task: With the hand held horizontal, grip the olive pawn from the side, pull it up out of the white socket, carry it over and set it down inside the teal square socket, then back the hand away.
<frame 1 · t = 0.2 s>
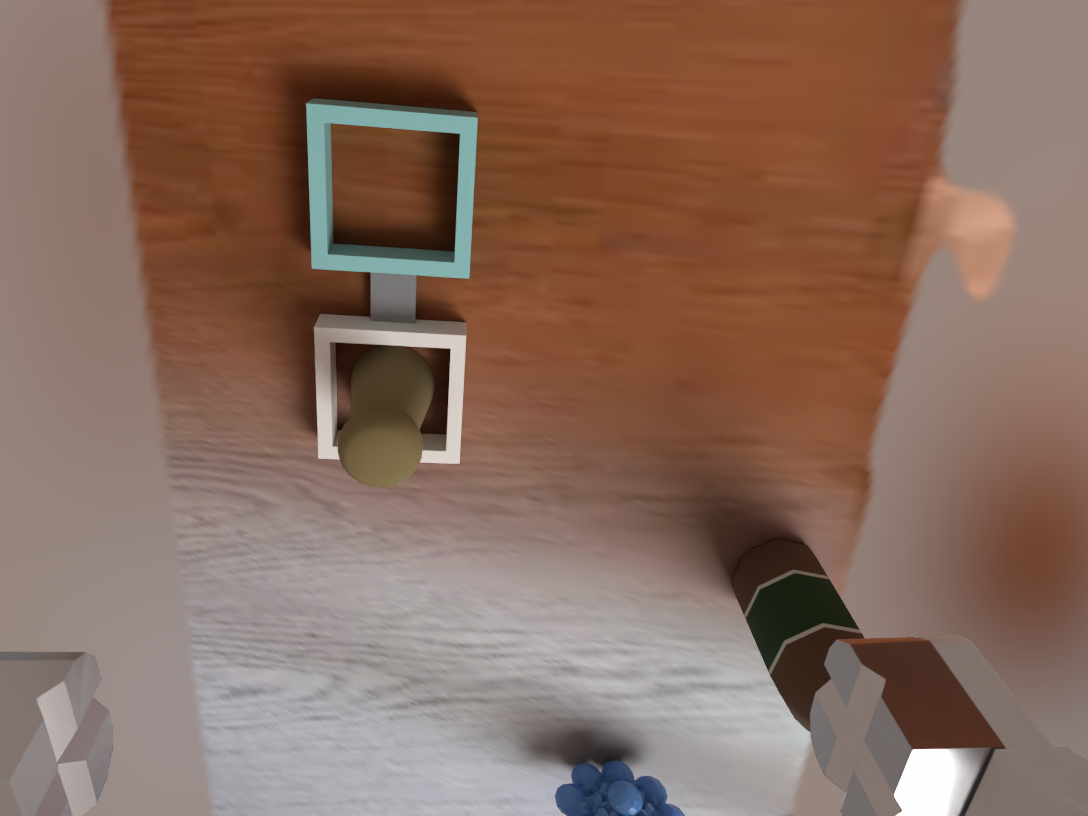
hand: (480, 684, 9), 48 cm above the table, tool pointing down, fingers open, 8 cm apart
teal socket: (395, 186, 54), on the table
white socket: (393, 383, 60), on the table
grapes: (612, 754, 79), on the table
olive pawn: (393, 382, 60), resting in white socket
beer bottle: (773, 571, 71), on the table
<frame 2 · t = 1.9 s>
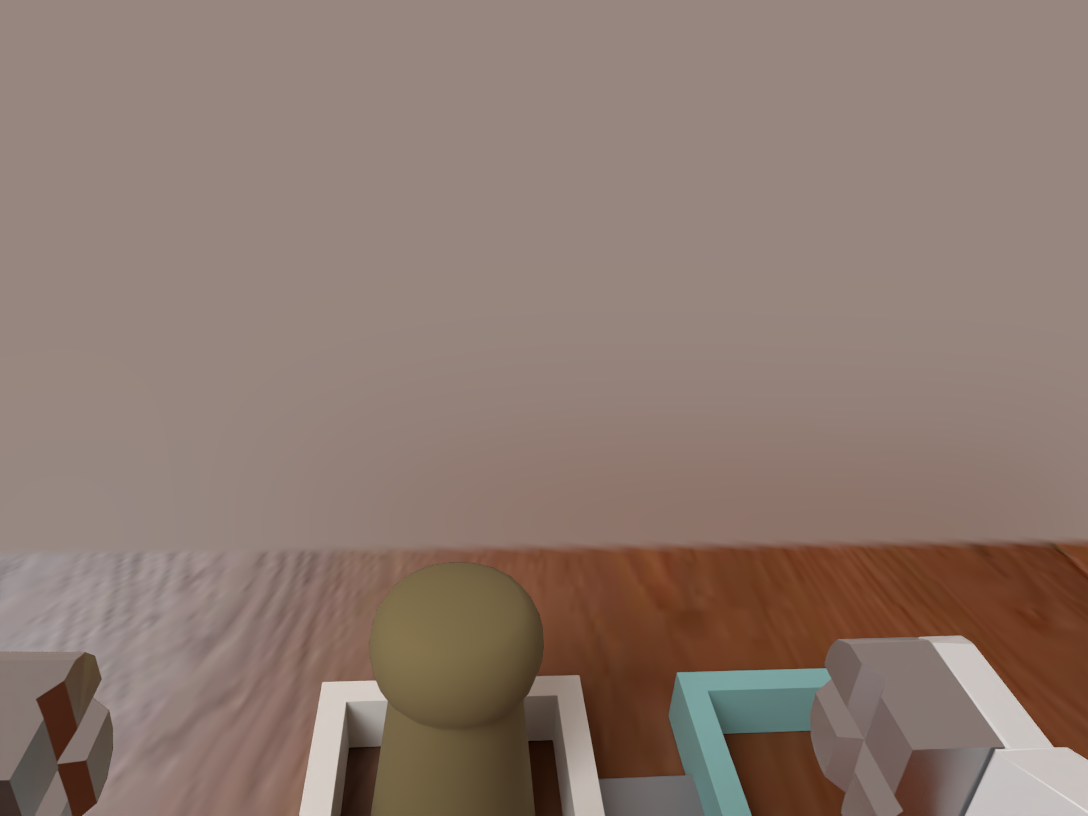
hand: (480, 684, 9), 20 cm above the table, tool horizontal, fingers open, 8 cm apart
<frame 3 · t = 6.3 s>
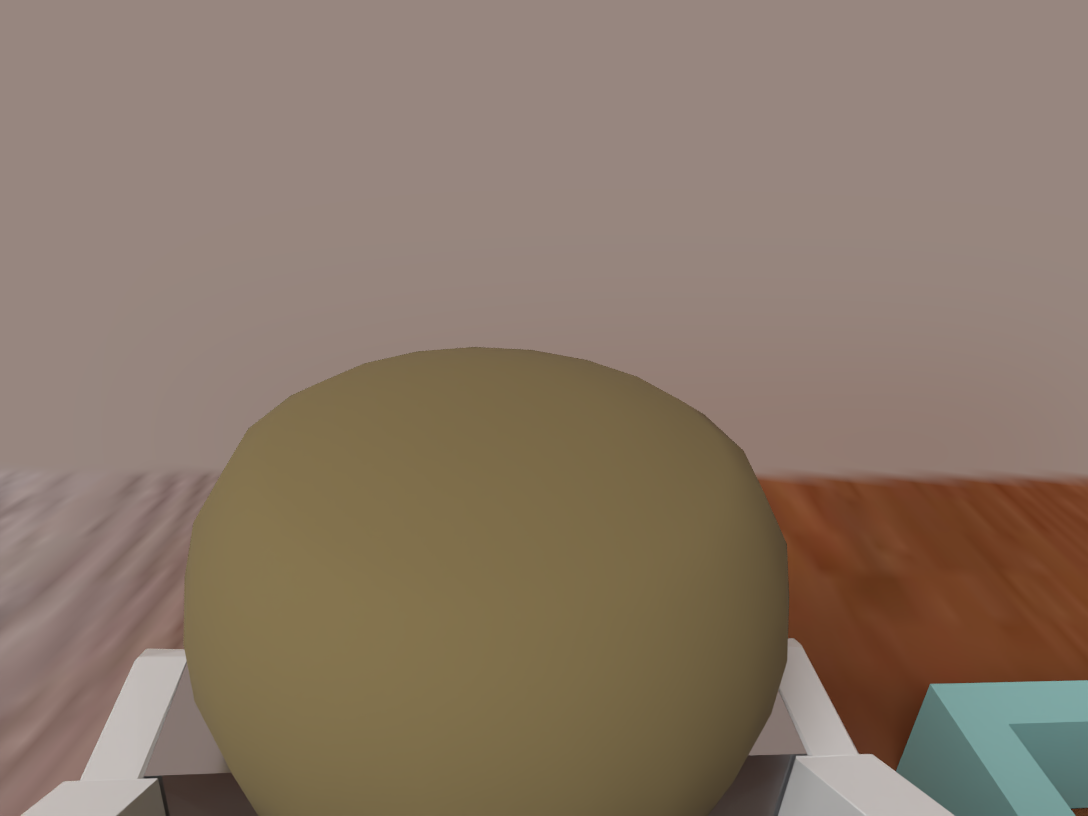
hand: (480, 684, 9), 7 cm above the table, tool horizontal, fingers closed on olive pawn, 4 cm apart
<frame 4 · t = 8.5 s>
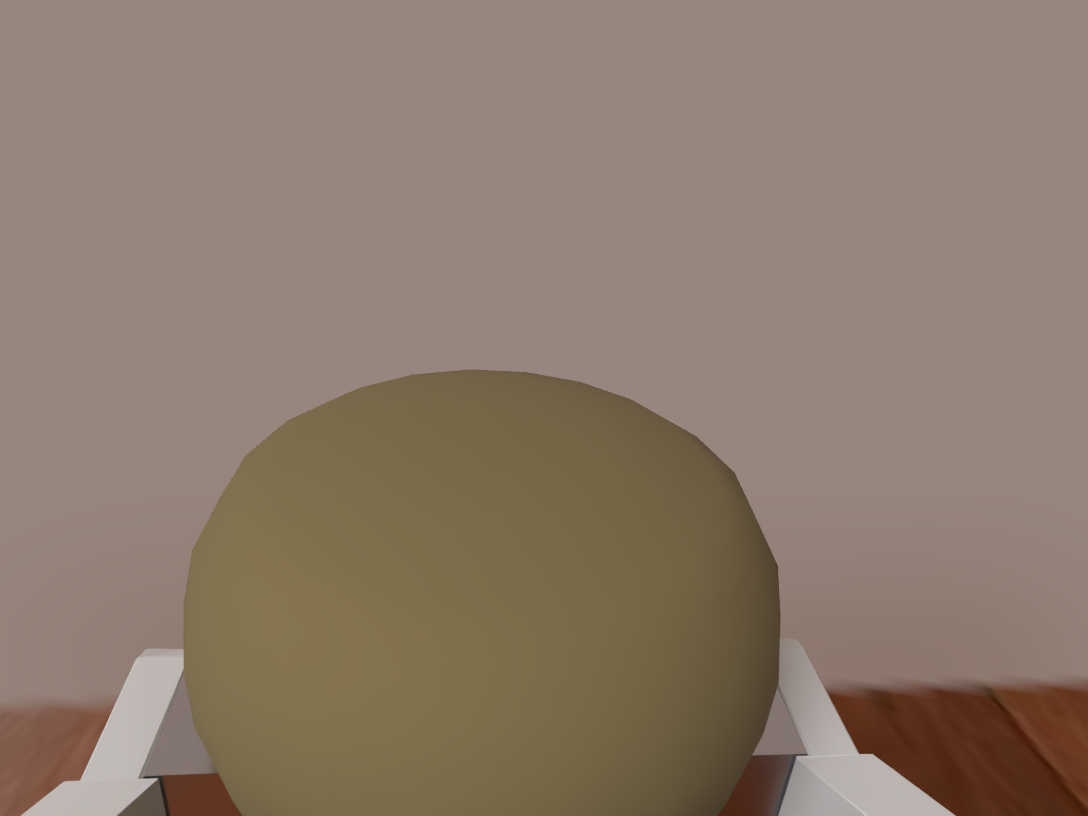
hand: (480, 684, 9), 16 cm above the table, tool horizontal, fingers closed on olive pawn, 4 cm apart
when the fingers open (8 cm above the table, at t = 10.7 s): olive pawn stays where it is, resting on teal socket.
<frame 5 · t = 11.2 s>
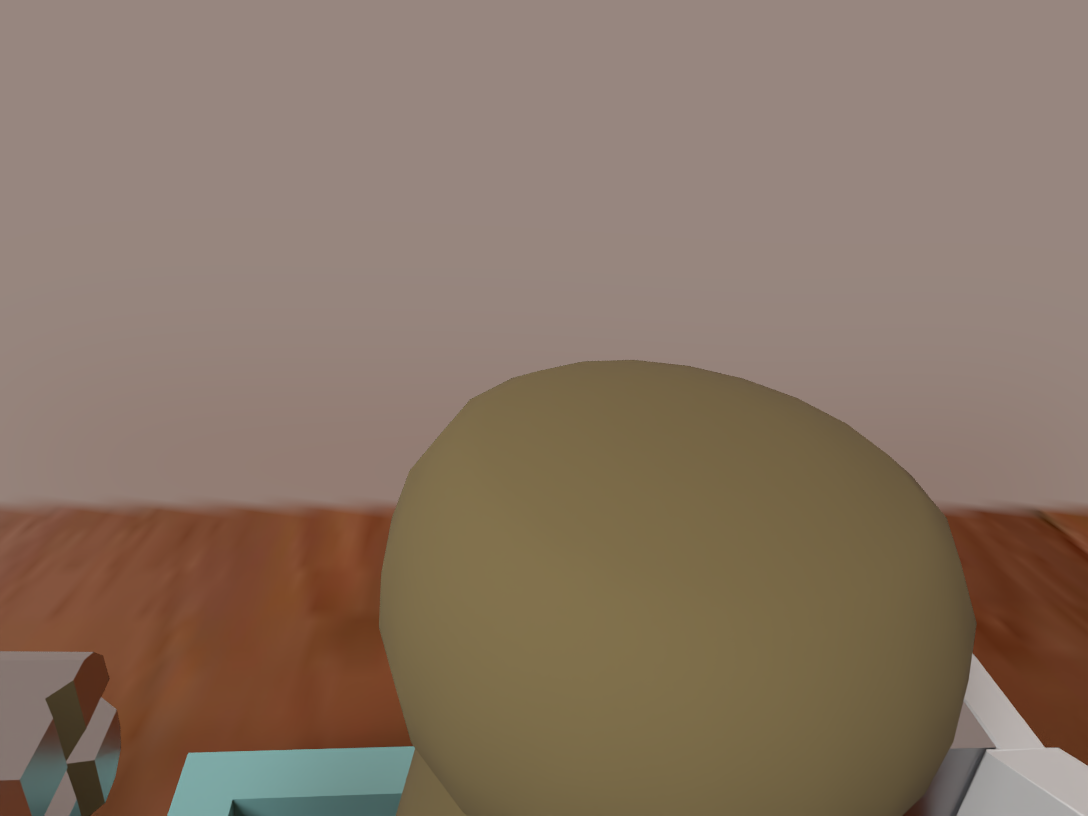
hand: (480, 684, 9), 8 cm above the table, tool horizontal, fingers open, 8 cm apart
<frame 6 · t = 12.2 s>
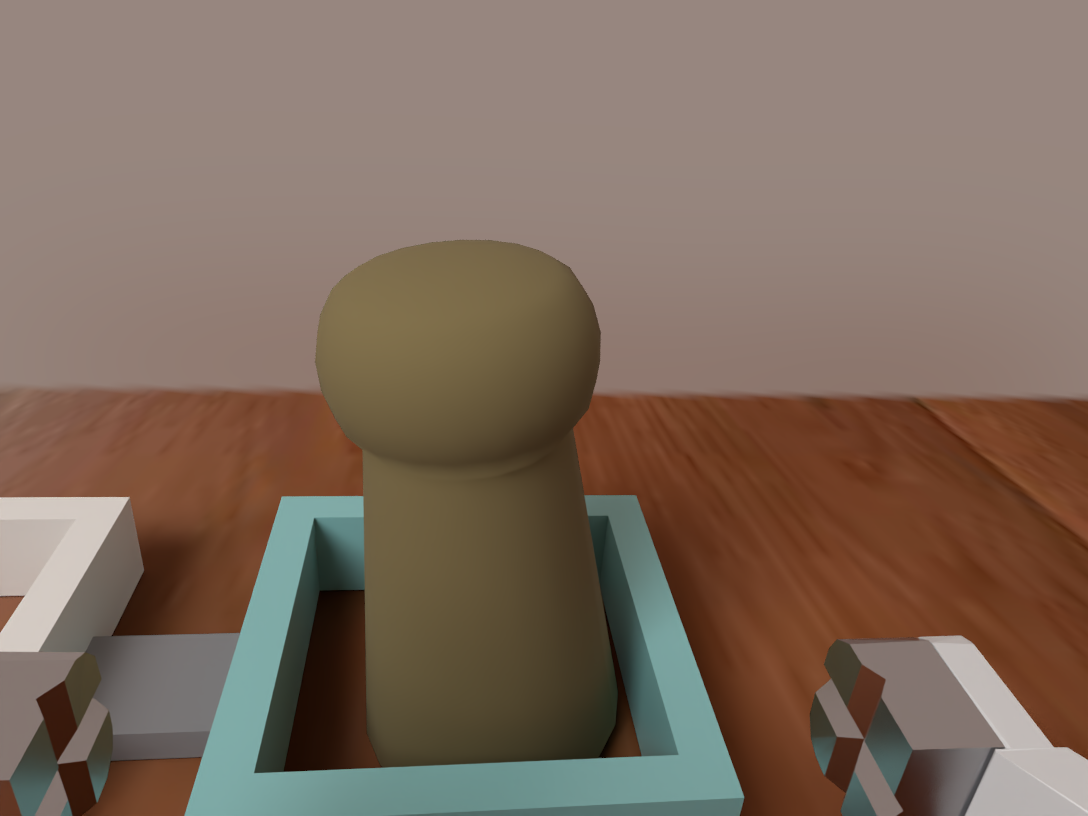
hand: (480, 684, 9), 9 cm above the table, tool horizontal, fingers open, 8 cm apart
teal socket: (465, 695, 20), on the table
olive pawn: (493, 702, 20), resting in teal socket
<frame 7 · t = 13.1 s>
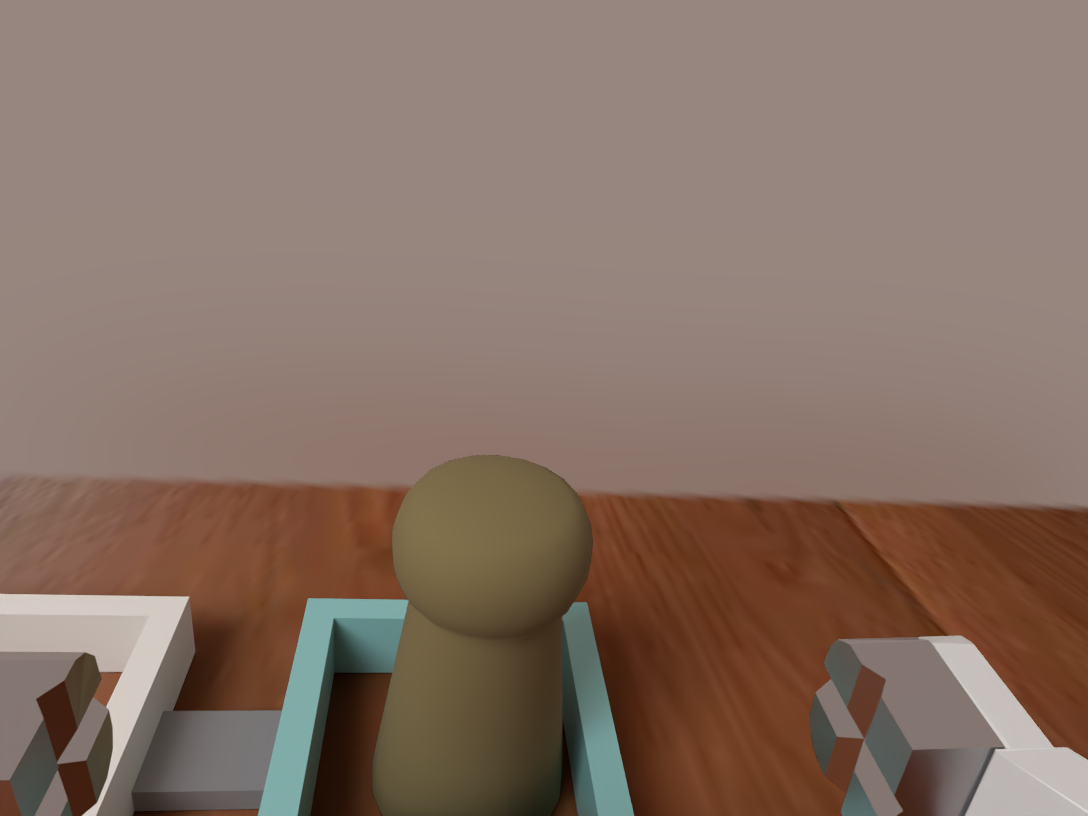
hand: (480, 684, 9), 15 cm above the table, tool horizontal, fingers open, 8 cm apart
teal socket: (446, 764, 27), on the table
olive pawn: (467, 772, 26), resting in teal socket
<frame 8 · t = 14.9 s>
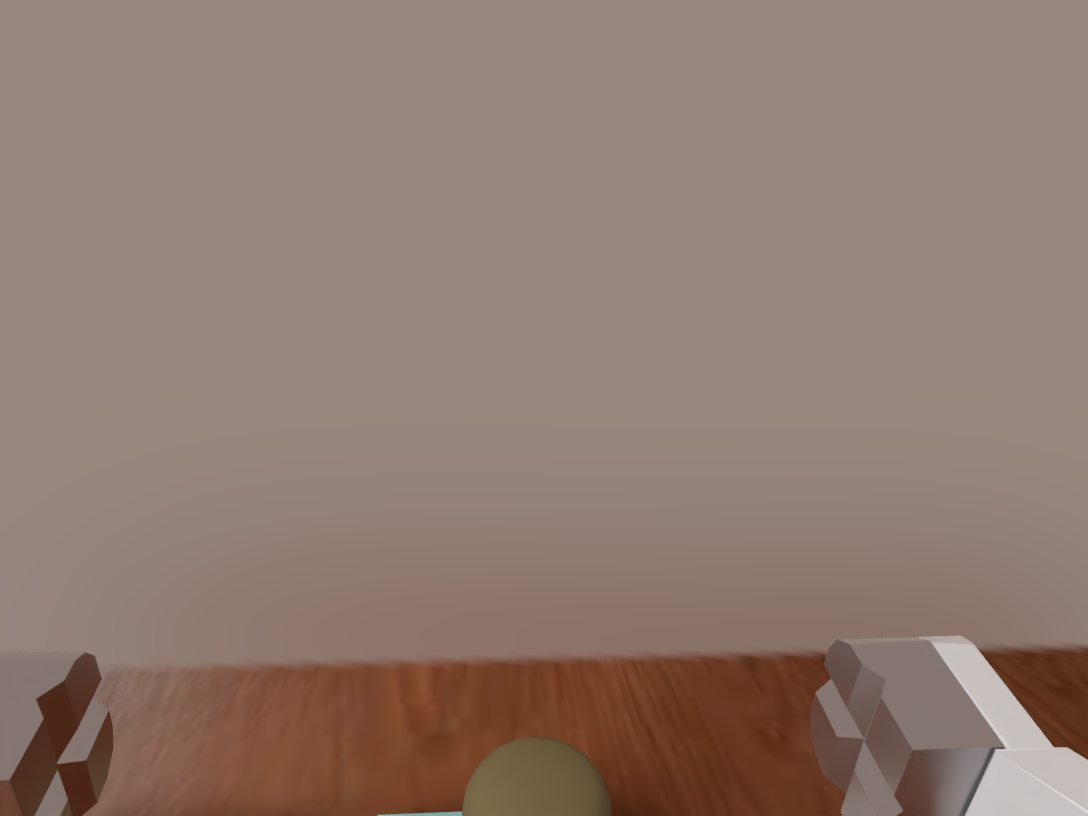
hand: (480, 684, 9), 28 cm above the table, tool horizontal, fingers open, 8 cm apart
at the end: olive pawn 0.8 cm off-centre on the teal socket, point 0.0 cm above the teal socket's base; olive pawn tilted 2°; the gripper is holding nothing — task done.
